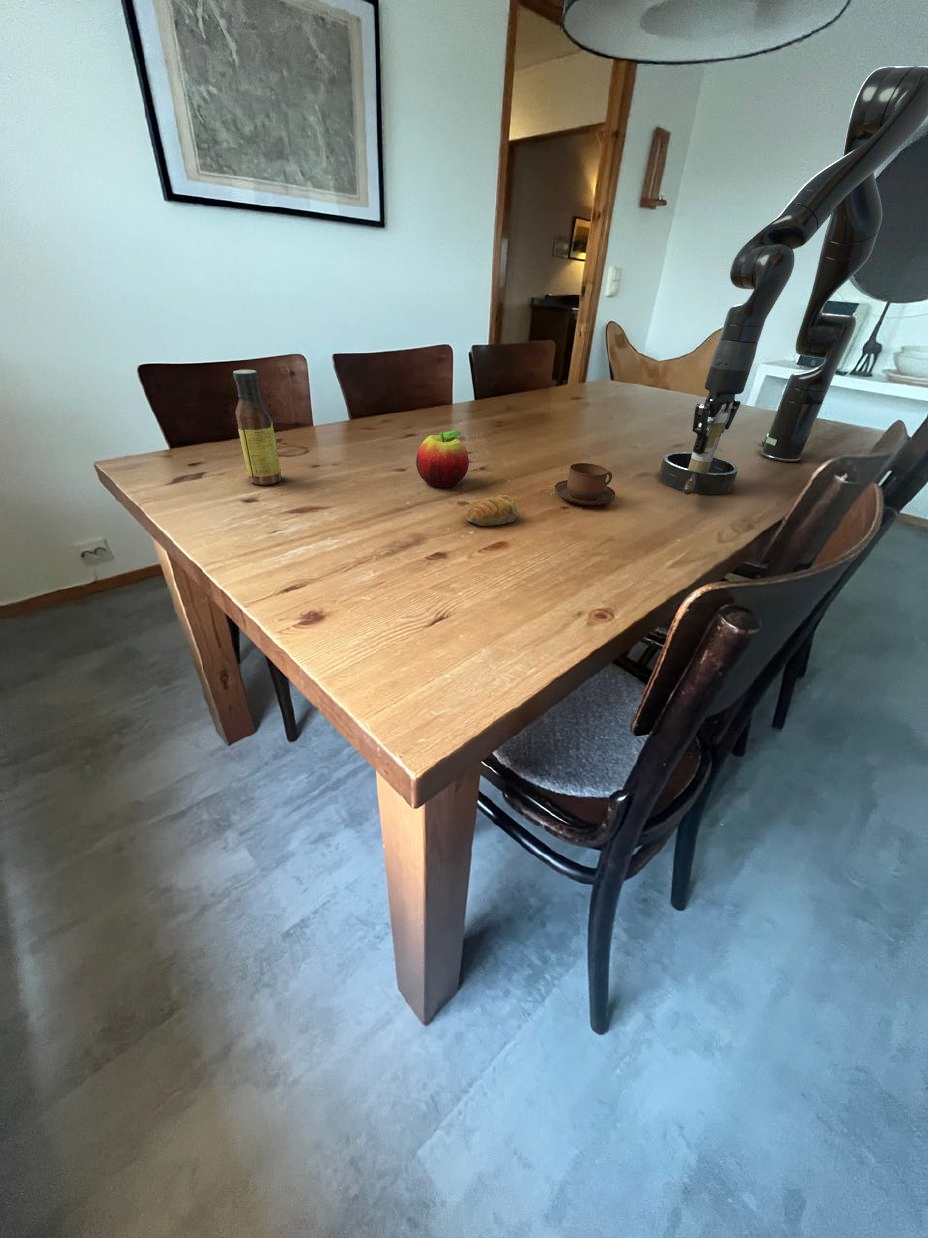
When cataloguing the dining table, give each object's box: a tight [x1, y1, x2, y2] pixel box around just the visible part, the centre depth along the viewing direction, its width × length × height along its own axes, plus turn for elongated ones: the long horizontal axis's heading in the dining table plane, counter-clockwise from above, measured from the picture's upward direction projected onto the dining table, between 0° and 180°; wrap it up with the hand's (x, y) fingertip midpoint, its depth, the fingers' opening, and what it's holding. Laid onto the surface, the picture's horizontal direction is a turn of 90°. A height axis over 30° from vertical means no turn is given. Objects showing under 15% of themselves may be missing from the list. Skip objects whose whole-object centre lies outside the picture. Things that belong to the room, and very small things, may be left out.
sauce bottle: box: [232, 369, 282, 486], centre depth 98 cm, size 7×6×20 cm
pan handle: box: [682, 473, 699, 496], centre depth 106 cm, size 11×2×2 cm, turn 153°
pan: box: [658, 451, 739, 496], centre depth 117 cm, size 16×16×4 cm
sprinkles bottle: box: [688, 412, 728, 473], centre depth 113 cm, size 5×5×14 cm
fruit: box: [415, 430, 470, 488], centre depth 106 cm, size 11×11×10 cm
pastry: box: [465, 494, 520, 527], centre depth 93 cm, size 9×7×4 cm
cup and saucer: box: [554, 462, 616, 506], centre depth 104 cm, size 12×12×6 cm
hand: (704, 451), depth 114 cm, fingers closed on sprinkles bottle, 4 cm apart
